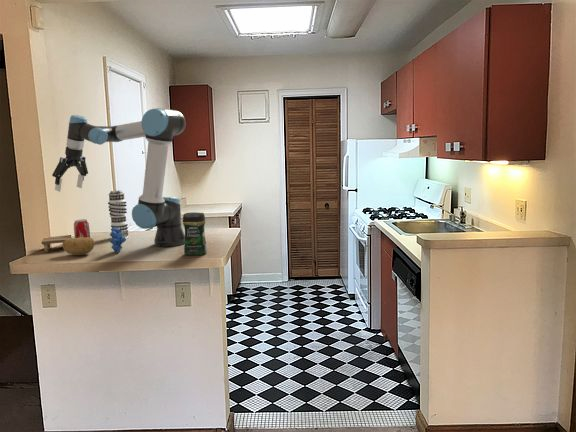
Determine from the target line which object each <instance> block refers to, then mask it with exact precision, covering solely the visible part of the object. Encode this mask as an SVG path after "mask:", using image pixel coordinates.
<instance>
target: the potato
mask: <svg viewBox="0 0 576 432" xmlns="http://www.w3.org/2000/svg"><path fill="white" fill-rule="evenodd" d="M61 244H62V245H61V246H62V248H63V250H64V251H65V253H67V254H69V255H73V256H78V255H79V256H84V255H87V254H89V253H91V252H92V251H93V249H94V247H95V244H96V243H95V239H94V238H91V237H90V238H84V237H79V238H75V237H71V239H67V240H65V241H64V242H63V243H61Z"/></svg>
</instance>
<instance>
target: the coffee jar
mask: <svg viewBox="0 0 576 432" xmlns="http://www.w3.org/2000/svg"><path fill="white" fill-rule="evenodd" d="M205 224H206V216H205V213H204V212H185V213H184V214H183V215H182V225H183V227H184V235H185V244H183V245H184V249H183V250H184V255H186V256H202V255H205V254H206V253H207V252H208V248H207V247H208V246H207V241H206V232H205Z"/></svg>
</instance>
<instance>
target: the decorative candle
mask: <svg viewBox="0 0 576 432" xmlns="http://www.w3.org/2000/svg"><path fill="white" fill-rule="evenodd" d="M107 195H108V197H109V199H108V202H107V204H108V211H109V217H110V221H111V222H110V231H111V230H112V229H113V228H114V227H116V228H118V229H120V233H121V234H122V235H123V237H125V239H126V240H127V239H128V238H129V227H128V226H129V225H128V224H127V223H128V222H127V215H128V214H127V213H128V212H127V208H126V207H127V201H126V199H125V193H124V192H123V190H112V191H111V190H110V192H109V193H108V194H107Z"/></svg>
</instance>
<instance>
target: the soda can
mask: <svg viewBox="0 0 576 432" xmlns="http://www.w3.org/2000/svg"><path fill="white" fill-rule="evenodd" d="M73 231H74V238H79V237H84V238H91V232H90V223H89V221H88V219H87V218H86V219H83V218H82V219H77V220H74V223H73Z"/></svg>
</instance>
